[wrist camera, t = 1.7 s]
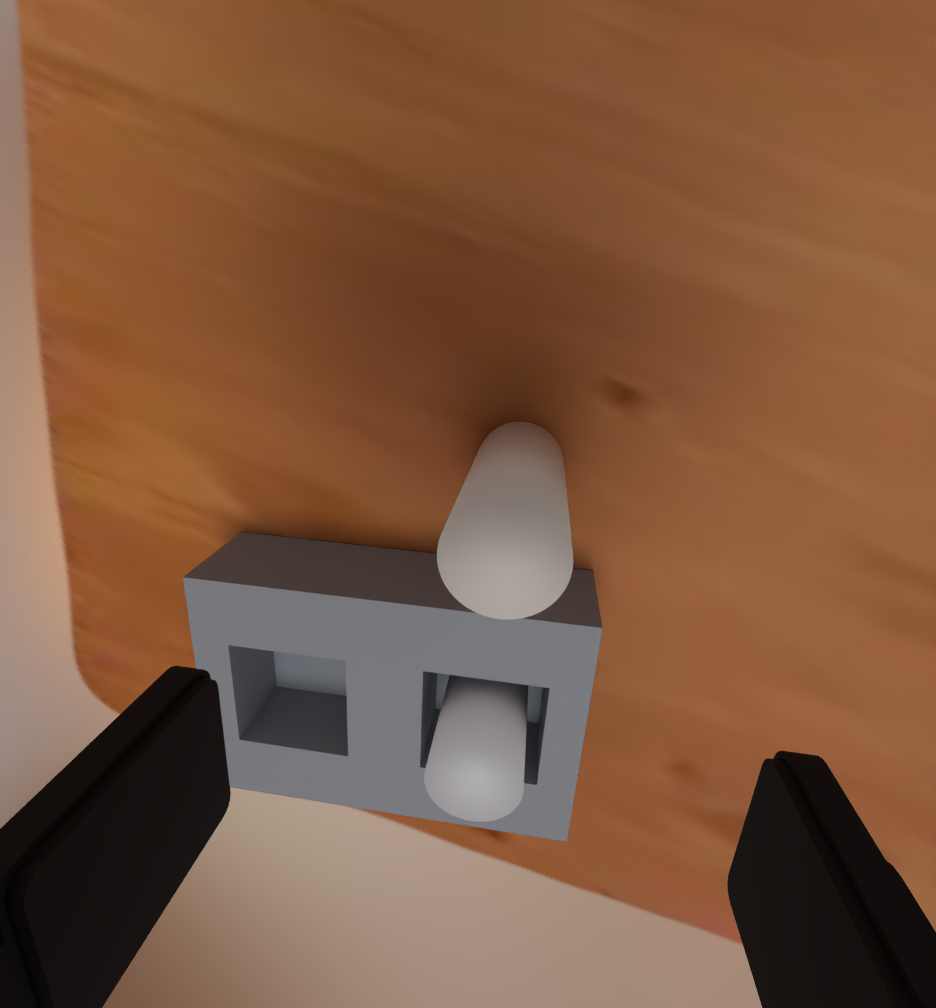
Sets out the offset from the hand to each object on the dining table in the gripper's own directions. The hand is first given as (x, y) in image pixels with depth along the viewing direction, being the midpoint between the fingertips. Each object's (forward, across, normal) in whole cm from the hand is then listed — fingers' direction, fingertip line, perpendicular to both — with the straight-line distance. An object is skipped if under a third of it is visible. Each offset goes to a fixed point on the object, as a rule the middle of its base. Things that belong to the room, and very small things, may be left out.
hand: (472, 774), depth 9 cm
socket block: (+18, +5, +10) cm, 21 cm away
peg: (+17, 0, -1) cm, 17 cm away
